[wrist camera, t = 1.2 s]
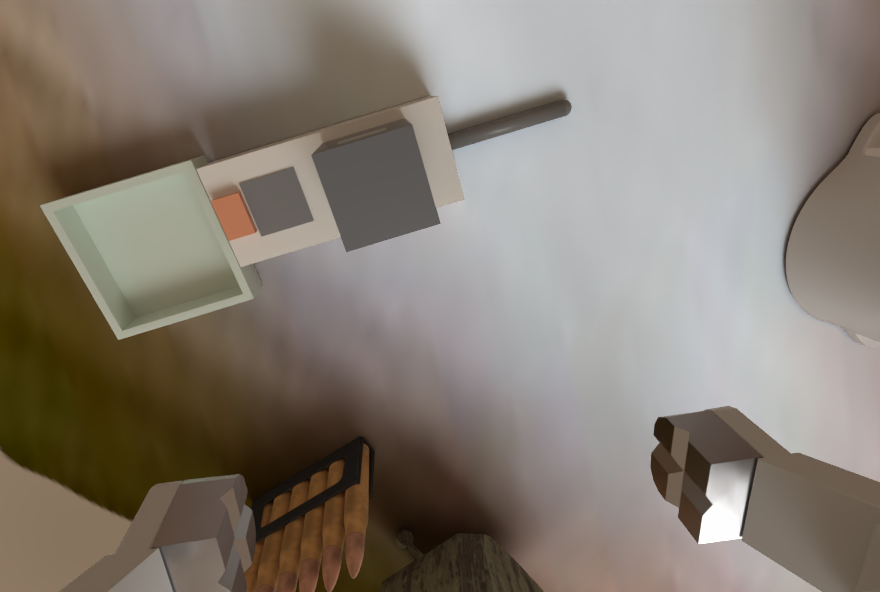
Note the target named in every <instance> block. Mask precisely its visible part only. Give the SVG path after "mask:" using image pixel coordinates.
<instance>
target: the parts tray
mask: <svg viewBox="0 0 880 592" xmlns="http://www.w3.org/2000/svg"><path fill="white" fill-rule="evenodd" d="M207 164H209V163H208V161H207V158H206V156H205V155H202V156H199V157H195V158H192V159H189V160H186V161H182V162H179V163H176V164H172V165H169V166H166V167H162V168H159V169H156V170H152V171H149V172H146V173H142V174H139V175H136V176H132V177H129V178H126V179H122V180H119V181H116V182H113V183H109V184H106V185H103V186H99V187H96V188H93V189H89V190H86V191H83V192H79V193H76V194H73V195H69V196H66V197H63V198H60V199H57V200H54V201H52V202H49V203H46V204H43V205H40V207H41V209H42V210H43V212H44V214H45V215H46V217H47V219H48V220H49V222H50V224H51V226H52V227H53V229H54V231H55V232H56V234H57V236H58V238H59V239H60V241H61V243H62V244H63V246H64V248H65V250H66V251H67V253H68V255H69V256H70V258H71V260H72V262H73V263H74V265H75V267H76V268H77V270H78V272H79V273H80V275H81V277H82V279H83V280H84V282H85V284H86V285H87V287H88V289H89V291H90V292H91V294H92V296H93V297H94V299H95V301H96V303H97V304H98V306H99V308H100V309H101V311H102V313H103V315H104V316H105V318H106V320H107V321H108V323H109V325H110V326H111V328H112V330H113V332H114V333H115V335H116V337H117V338H118V340H120V339H123V338H126V337H130V336H133V335H136V334H139V333H143V332H146V331H149V330H153V329H156V328H159V327H162V326H166V325H169V324H172V323H176V322H179V321H182V320H186V319H189V318H192V317H195V316H199V315H202V314H205V313H209V312H212V311H215V310H218V309H222V308H225V307H228V306H232V305H235V304H238V303H241V302H245V301H248V300H251V299H254V298H255V296H256V294H257V292H258V291H259V289H260V287H261V285H262V283H261V281H260V278H259V276H258V274H257V272H256V269H255V267H254V265H253V264H250V265H246V266H243V267H240V265H239V263H238V260H237V258H236V256H235V254H234V252H233V249H232V247H231V245H230V243H229V241H228V239H227V236H226V234H225V232H224V230H223V228H222V225H221V223H220V221H219V219H218V216H217V214H216V212H215V210H214V208H213V205H212V203H211V201H210V199H209V196H208V194H207V192H206V190H205V188H204V185H203V183H202V181H201V179H200V177H199V174H198V172H197V170H196V169H198V168H200V167H202V166H204V165H207Z"/></svg>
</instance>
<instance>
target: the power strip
mask: <svg viewBox="0 0 880 592" xmlns="http://www.w3.org/2000/svg"><path fill="white" fill-rule="evenodd" d="M570 111H571V103H570V102H569V101H568V100H560V101H557V102H553V103H550V104H547V105H543V106H540V107H537V108H533V109H530V110H527V111H523V112H520V113H517V114H514V115H510V116H507V117H504V118H500V119H497V120H494V121H490V122H487V123H484V124H480V125H477V126H474V127H471V128H467V129H464V130H461V131H457V132H454V133H451V134H447V130H446V126H445V122H444V118H443V115H442V111H441V107H440V103H439V99H438V96H427V97H424V98H421V99H418V100H414V101H411V102H408V103H404V104H401V105H398V106H394V107H391V108H388V109H384V110H381V111H378V112H374V113H371V114H368V115H364V116H361V117H358V118H355V119H351V120H348V121H345V122H341V123H338V124H335V125H331V126H328V127H325V128H321V129H318V130H315V131H311V132H308V133H305V134H301V135H298V136H295V137H292V138H288V139H285V140H282V141H278V142H275V143H272V144H268V145H265V146H262V147H258V148H255V149H252V150H248V151H245V152H242V153H238V154H235V155H232V156H229V157H225V158H222V159H219V160H215V161H213V162H211V163H209V164H207V165H204V166H202V167H200V168H198V169H196V170H197V172H198V174H199V177H200V179H201V181H202V183H203V185H204V188H205V190H206V192H207V194H208V196H209V199H210V201H211V203H212V205H213V208H214V210H215V212H216V214H217V216H218V219H219V221H220V223H221V225H222V228H223V230H224V232H225V234H226V236H227V239H228V241H229V243H230V245H231V247H232V249H233V252H234V254H235V256H236V258H237V260H238V263H239V265H240V267H243V266H246V265H250V264H253V263H256V262H260V261H263V260H266V259H270V258H273V257H276V256H279V255H283V254H286V253H289V252H293V251H296V250H299V249H302V248H306V247H309V246H312V245H316V244H319V243H322V242H326V241H329V240H332V239H335V238H339V237H341V236H340V233H339V230H338V227H337V225H336V222H335V219H334V216H333V214H332V211H331V208H330V205H329V203H328V200H327V197H326V194H325V192H324V189H323V186H322V183H321V181H320V178H319V175H318V173H317V170H316V167H315V164H314V162H313V159H312V156H311V155H312V154H313V153H314V152H315V151H316V149H317V148H318V147H319V146H320V145H321V144H322V143H324V142H327V141H331V140H334V139H337V138H341V137H344V136H347V135H350V134H354V133H357V132H360V131H364V130H367V129H370V128H374V127H377V126H380V125H384V124H387V123H390V122H394V121H397V120H400V119H403V118H405V119H406V120H408V121H409V122H410V123H411V124H412V125H413V129H414V132H415V136H416V139H417V143H418V147H419V150H420V154H421V157H422V161H423V164H424V168H425V171H426V175H427V178H428V182H429V185H430V189H431V192H432V196H433V199H434V203H435V206H436V208H438V207H441V206H444V205H447V204H451V203H454V202H457V201H461V200H464V195H463V191H462V187H461V184H460V180H459V176H458V172H457V168H456V164H455V161H454V157H453V153H452V150H454V149H457V148H460V147H464V146H467V145H470V144H474V143H477V142H480V141H483V140H487V139H490V138H493V137H497V136H500V135H503V134H507V133H510V132H513V131H517V130H520V129H523V128H526V127H530V126H533V125H536V124H540V123H543V122H546V121H550V120H553V119H556V118H559V117H563V116H566V115H568V114H569V113H570Z"/></svg>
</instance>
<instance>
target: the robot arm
mask: <svg viewBox="0 0 880 592" xmlns="http://www.w3.org/2000/svg"><path fill="white" fill-rule="evenodd" d="M786 275H787V281H788V285H789V288H790V291H791V293H792V295H793V297H794V299H795V300H796V302H797V303H798V304H799V306H800V307H801V308H802V309H803V310H804V311H805V312H807V313H808V314H809V315H811V316H813V317H814V318H816V319H818V320H821V321H824V322H827V323H831V324H834V325H837V326H839V327H841V328H843V329H844V330H845V332H846V333H847V334H848V335H849V336H850V337H851V338H852V339H853V340H854V341H855V342H857V343H859V344H861V345H864V346H867V347H869V348H876V347H879V346H880V113H877V114H875V115H874V116H872V117H871V118H870V119H869V120H868V121H867V123H866V124H865V125H864V127H863V128H862V130H861V131H860V133H859V135H858V136H857V138H856V140H855V142H854V144H853V145H852V147H851V149H850V151H849V153H848V155H847V156H846V157H845V158H844V160H843V161H842V162H841V163H840V164H839V165H838V166H837V167H836V168H835V169H834V170H833V171H832V172H831V173H830V174H829V175H828V176H827V177H826V178H825V179H824V180H823V181H822V182H821V183H820V184H819V186H818V187H817V188H816V189H815V190H814V192H813V193H812V194H811V196H810V197H809V198H808V200H807V201H806V203H805V205H804V206H803V208H802V210H801V211H800V213H799V215H798V217H797V219H796V222H795V224H794V226H793V229H792V232H791V235H790V238H789V242H788V247H787V253H786ZM654 436H655V437H656V438H657V440H658V441H659V442H660V443H659V444H658V446H657V447H656V448H655V449H654V451H653V452H652V454H651V471H652V475H653V480H654V482H655V485H656V487H657V489H658V491H659V492H660V494H661V495H662V496H663V498H664V499H665V500H666V501H668V502H669V503H671V504H673V505H675V506H677V507H679V514H678V518H679V519H680V520H681V522H682V523H683V524H684V526H685V527H686V528H687V530H688V531H689V532H690V534H691V535H692V536H693V538H694V539H695V540H696V541H697V543H698V544H702V543H710V542H717V541H724V540H732V539H739V538H742V541H743V542H745V543H746V544H748V545H750V546H751V547H753V548H754V549H756V550H757V551H759V552H761V553H762V554H764V555H765V556H767V557H768V558H770V559H772V560H773V561H775V562H776V563H778V564H780V565H781V566H783V567H784V568H786V569H787V570H789V571H791V572H792V573H794V574H795V575H797V576H798V577H800V578H802V579H803V580H805V581H806V582H808V583H809V584H811V585H813V586H814V587H816V588H817V589H819V590H821V591H822V592H880V482H877V481H875V480H872V479H869V478H866V477H864V476H861V475H858V474H855V473H853V472H850V471H847V470H844V469H842V468H839V467H836V466H834V465H831V464H828V463H825V462H823V461H820V460H817V459H814V458H812V457H809V456H806V455H803V454H801V453H792V454H791V453H790V452H788V451H787V450H786V449H785V448H783V447H782V446H781V445H780V444H779V443H777V442H776V441H775V440H774V439H773V438H771V437H770V436H769V435H768V434H767V433H765V432H764V431H763V430H762V429H760V428H759V427H758V426H757V425H756V424H754V423H753V422H752V421H751V420H750V419H748V418H747V417H746V416H745V415H744V414H742V413H741V412H740V411H739V410H737V409H736V408H733V407H730V406H725V407H719V408H713V409H707V410H705V411H699V412H692V413H685V414H678V415H671V416H664V417H658V419H657V421H656V423H655V427H654ZM247 492H248V491H247V487H246V483H245V480H244V477H243V476H242V475H241V474H235V475H226V476H218V477H209V478H200V479H191V480H185V481H176V482H168V483H161V484H156V485H155V486H153V487H152V488H151V489H150V490H149V492H148V494H147V496H146V497H145V499H144V501H143V503H142V505H141V507H140V509H139V510H138V512H137V514H136V516H135V518H134V520H133V521H132V523H131V525H130V527H129V529H128V531H127V533H126V534H125V536H124V538H123V540H122V542H121V544H120V546H119V548H118V549H117V551H116V553H115V554H114V555H107V556H105V557H103V558H102V559H101V560H99V561H98V562H97V563H95V564H94V565H93V566H92V567H90V568H89V569H88V570H86V571H85V572H84V573H82V574H81V575H80V576H79V577H77V578H76V579H75V580H73V581H72V582H71V583H69V584H68V585H67V586H66V587H64V588H63V589H62V590H60V591H59V592H246V589H247V583H246V579H245V575H244V572H245V571H246V570H247V569H248V568H249V567H250V566H251V565H252V563H253V558H254V553H255V542H256V529H255V520H254V516H253V511H252V510H251V509H250V508H248V507H247V506H246V505H244V503H245V500H246V496H247Z"/></svg>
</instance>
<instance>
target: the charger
mask: <svg viewBox="0 0 880 592" xmlns="http://www.w3.org/2000/svg"><path fill="white" fill-rule="evenodd" d="M311 156H312V159H313V162H314V164H315V167H316V170H317V173H318V175H319V178H320V181H321V183H322V186H323V189H324V192H325V194H326V197H327V200H328V203H329V205H330V208H331V211H332V214H333V216H334V219H335V222H336V225H337V227H338V230H339V233H340V236H341V238H342V241H343V244H344V247H345V249H346V252H348V251H352V250H355V249H358V248H361V247H365V246H368V245H371V244H375V243H378V242H381V241H384V240H388V239H391V238H394V237H398V236H401V235H404V234H407V233H411V232H414V231H417V230H421V229H424V228H427V227H430V226H434V225H437V224H440V220H439V217H438V213H437V210H436V206H435V203H434V199H433V196H432V192H431V189H430V185H429V182H428V178H427V175H426V171H425V168H424V164H423V161H422V157H421V154H420V150H419V147H418V143H417V139H416V136H415V132H414V129H413V125H412V124H411V123H410V122H409V121H408V120H406V119H405V118H403V119H400V120H397V121H394V122H390V123H387V124H384V125H380V126H377V127H374V128H370V129H367V130H364V131H360V132H357V133H354V134H350V135H347V136H344V137H341V138H337V139H334V140H331V141H327V142H324V143H322V144H321V145H320V146H319V147H318V148H317V149H316V151H315V152H314V153H313V154H312V155H311Z"/></svg>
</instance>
